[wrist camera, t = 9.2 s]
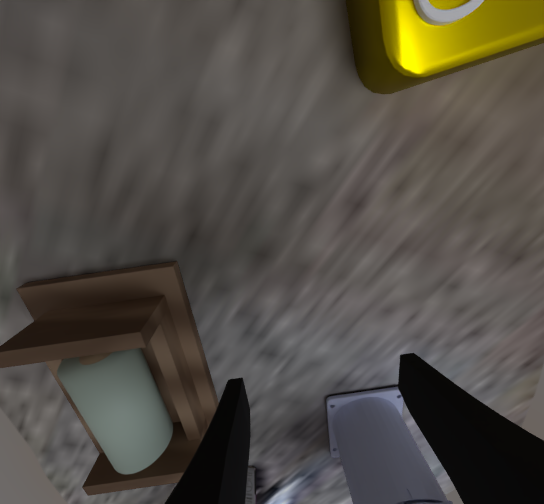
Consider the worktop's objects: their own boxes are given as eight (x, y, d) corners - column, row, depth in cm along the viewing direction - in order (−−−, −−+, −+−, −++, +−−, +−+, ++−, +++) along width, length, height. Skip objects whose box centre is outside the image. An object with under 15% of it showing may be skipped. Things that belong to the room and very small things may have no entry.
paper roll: (180, 410, 24) (161, 470, 20) (130, 417, 24) (99, 479, 20) (146, 324, 21) (112, 373, 16) (87, 333, 21) (37, 384, 16)
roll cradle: (226, 429, 27) (219, 492, 22) (116, 445, 27) (83, 512, 22) (177, 261, 20) (149, 297, 15) (27, 282, 20) (-53, 326, 15)
